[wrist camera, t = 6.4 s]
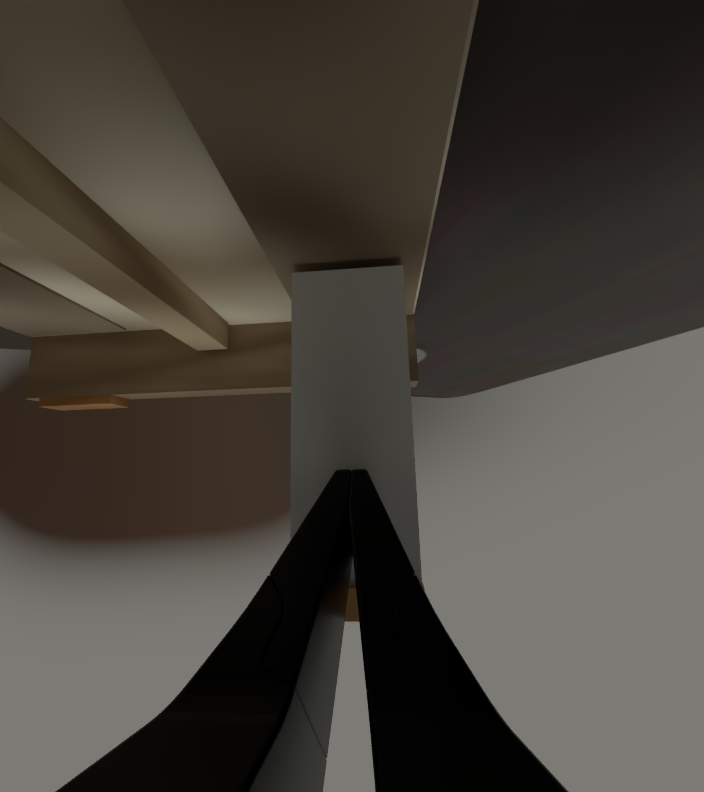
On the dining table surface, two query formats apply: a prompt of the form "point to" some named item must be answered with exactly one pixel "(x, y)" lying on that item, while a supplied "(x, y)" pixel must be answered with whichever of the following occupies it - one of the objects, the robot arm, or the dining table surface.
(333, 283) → the tab
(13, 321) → the switch bank
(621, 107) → the dining table surface
